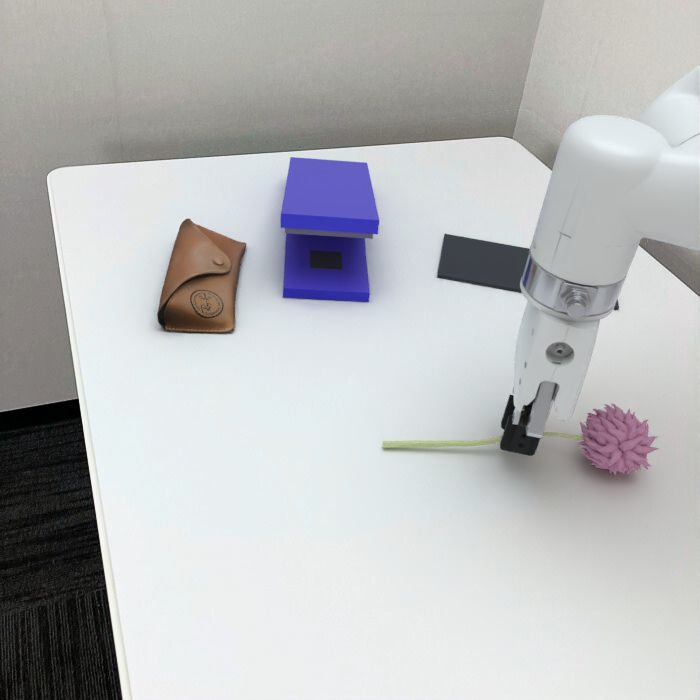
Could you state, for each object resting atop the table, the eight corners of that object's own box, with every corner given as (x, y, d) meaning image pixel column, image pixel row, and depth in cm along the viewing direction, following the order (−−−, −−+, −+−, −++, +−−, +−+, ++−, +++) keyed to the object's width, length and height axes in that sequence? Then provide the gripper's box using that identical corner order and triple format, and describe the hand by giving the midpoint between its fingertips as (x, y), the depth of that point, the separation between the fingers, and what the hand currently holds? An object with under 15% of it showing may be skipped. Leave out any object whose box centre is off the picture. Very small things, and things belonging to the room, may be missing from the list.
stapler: (277, 297, 88) (280, 222, 82) (283, 180, 110) (286, 114, 104) (376, 302, 89) (387, 228, 83) (364, 185, 111) (371, 120, 105)
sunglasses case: (239, 331, 82) (205, 285, 78) (183, 354, 84) (146, 311, 80) (248, 240, 96) (219, 197, 92) (199, 262, 98) (169, 221, 94)
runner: (611, 265, 101) (612, 263, 100) (618, 310, 93) (619, 307, 93) (444, 236, 102) (444, 233, 102) (437, 277, 95) (437, 274, 94)
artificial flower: (387, 505, 70) (663, 489, 70) (384, 443, 67) (674, 427, 66) (383, 459, 76) (638, 444, 76) (380, 400, 73) (648, 385, 72)
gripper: (629, 350, 54) (559, 515, 66) (612, 235, 66) (555, 392, 78) (522, 329, 55) (471, 497, 66) (524, 220, 67) (481, 377, 79)
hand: (517, 439), depth 72 cm, fingers closed on artificial flower
